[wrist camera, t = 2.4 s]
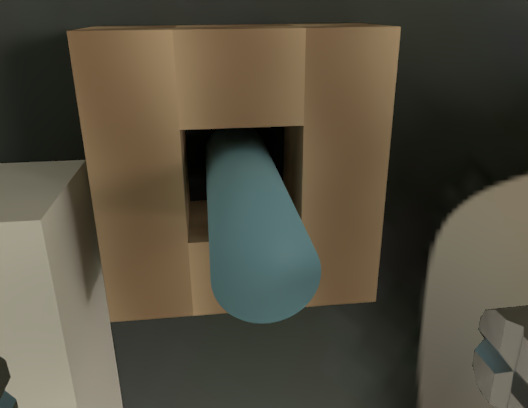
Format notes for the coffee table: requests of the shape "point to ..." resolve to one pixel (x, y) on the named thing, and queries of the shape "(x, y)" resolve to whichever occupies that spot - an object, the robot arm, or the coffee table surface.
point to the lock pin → (255, 232)
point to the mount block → (232, 116)
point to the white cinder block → (53, 290)
